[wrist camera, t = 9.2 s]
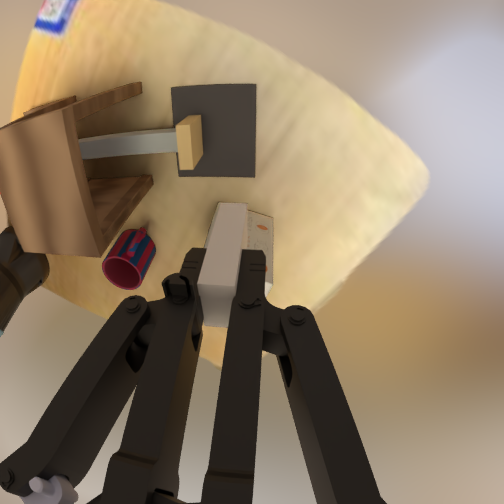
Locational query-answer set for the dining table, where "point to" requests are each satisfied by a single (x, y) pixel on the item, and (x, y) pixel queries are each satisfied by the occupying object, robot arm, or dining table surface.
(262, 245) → the small box
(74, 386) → the robot arm
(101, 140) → the plunger
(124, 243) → the mug
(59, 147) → the tunnel
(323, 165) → the dining table surface
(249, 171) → the mat
